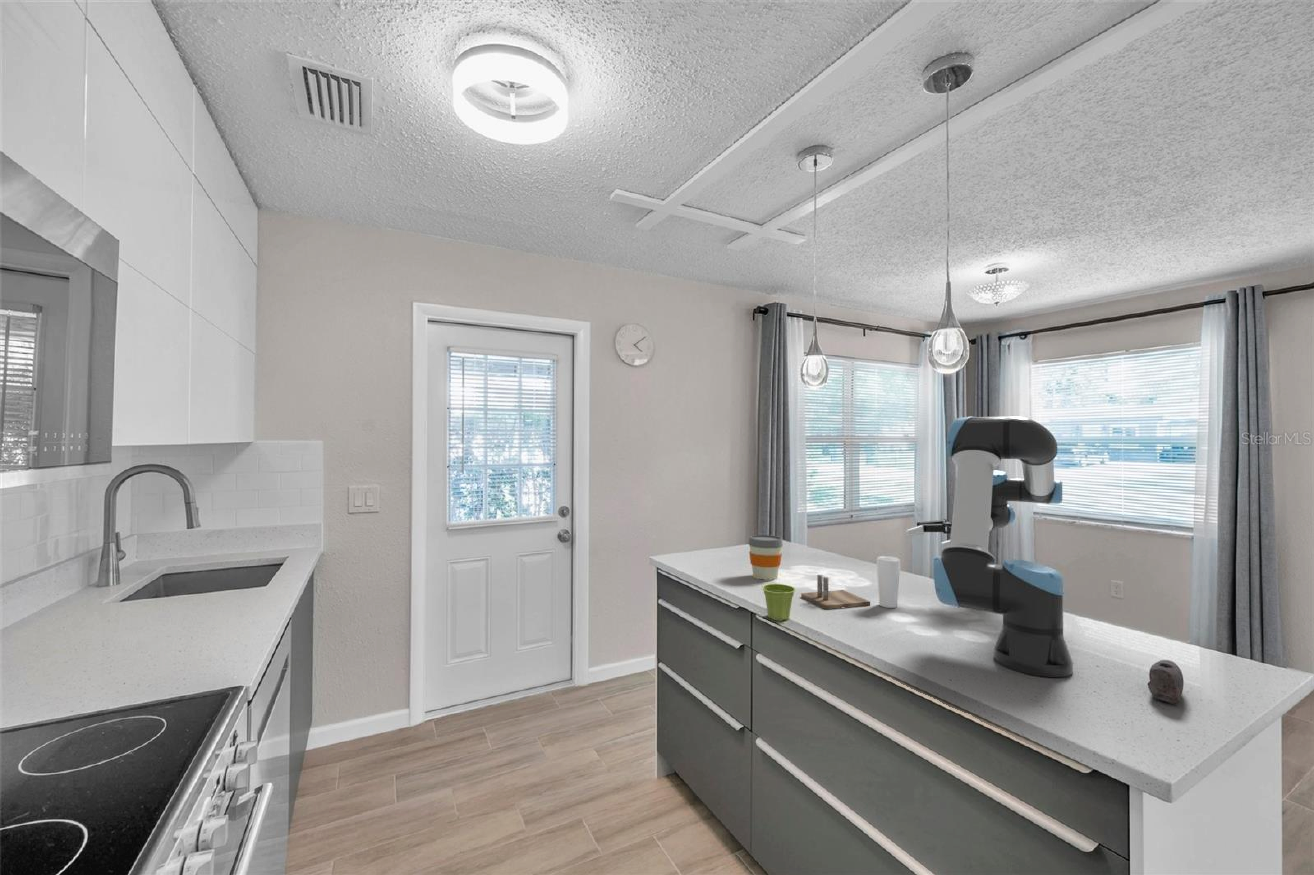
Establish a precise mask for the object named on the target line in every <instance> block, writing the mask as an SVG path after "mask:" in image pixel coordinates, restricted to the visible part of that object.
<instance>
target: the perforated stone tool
mask: <svg viewBox="0 0 1314 875" xmlns="http://www.w3.org/2000/svg"><path fill="white" fill-rule="evenodd" d="M1148 676H1149V681H1148V683H1147V688H1148V690H1149V692H1150V693H1151V695H1152V697H1153V698H1154V699H1157V700H1158V701H1162V702H1166V703H1169V704H1176V703H1177V702H1178V701H1179V700H1180V699H1181V696H1182V695H1183V691H1184V682H1185V681H1184V676H1183V673H1182V669H1180V667H1179V666H1178V664H1176V663H1175V662H1174V661H1172V660H1168V659H1162V660H1159V661H1157V662H1155V663H1153V664H1152V665H1151V667H1150V669H1149V673H1148Z"/></svg>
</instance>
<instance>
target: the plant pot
mask: <svg viewBox="0 0 1314 875" xmlns="http://www.w3.org/2000/svg"><path fill="white" fill-rule="evenodd" d="M761 589H762V590H763V594H764V596H765V597H764V598H765V603H766V611H767V612H766V613H767V617H768V618H770V619H771V620H773V621H780V622H781V621H784V620H786V621H788V620H789V619H790V616H791V608H792V602H793V597H794V594H795V592H796V587H794V586H793V585H788V584H780V583H768V584H764V585H763V586H762V588H761Z"/></svg>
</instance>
